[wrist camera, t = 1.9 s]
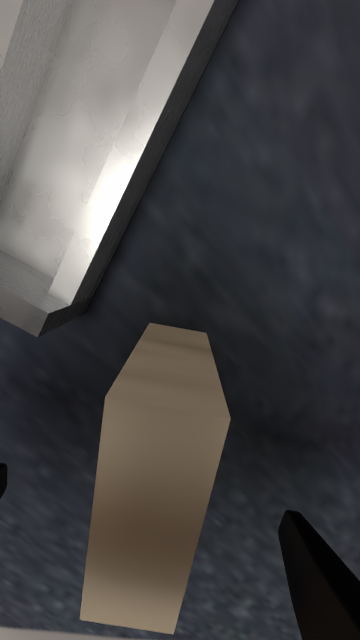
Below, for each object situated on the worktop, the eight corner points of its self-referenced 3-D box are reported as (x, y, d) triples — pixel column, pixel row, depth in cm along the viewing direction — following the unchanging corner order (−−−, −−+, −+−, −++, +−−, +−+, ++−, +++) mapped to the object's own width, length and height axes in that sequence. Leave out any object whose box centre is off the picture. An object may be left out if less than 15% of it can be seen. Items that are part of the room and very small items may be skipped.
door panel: (181, 457, 14) (178, 634, 8) (130, 449, 14) (79, 619, 7) (209, 333, 12) (236, 419, 6) (149, 322, 12) (105, 396, 6)
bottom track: (84, 313, 12) (37, 337, 8) (-30, 250, 12) (-139, 245, 8) (264, -54, 9) (328, -307, 5) (114, -171, 8) (49, -571, 4)
